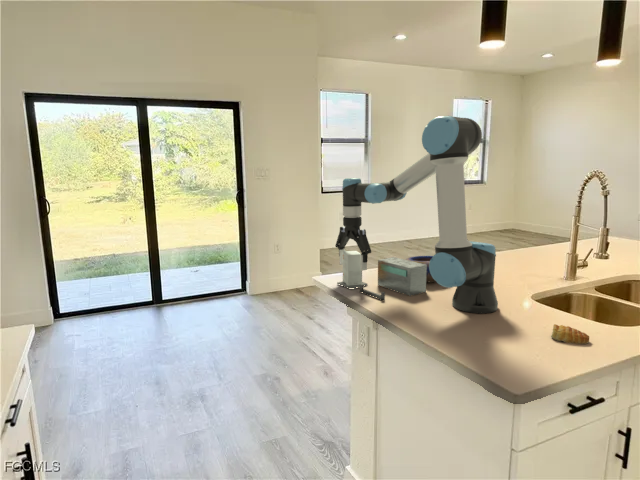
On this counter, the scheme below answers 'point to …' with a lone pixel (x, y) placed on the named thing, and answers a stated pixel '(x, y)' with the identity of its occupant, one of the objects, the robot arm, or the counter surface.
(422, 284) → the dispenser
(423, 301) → the counter surface
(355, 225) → the robot arm
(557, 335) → the pastry
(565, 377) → the counter surface
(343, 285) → the coaster
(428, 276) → the bowl
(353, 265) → the small box
